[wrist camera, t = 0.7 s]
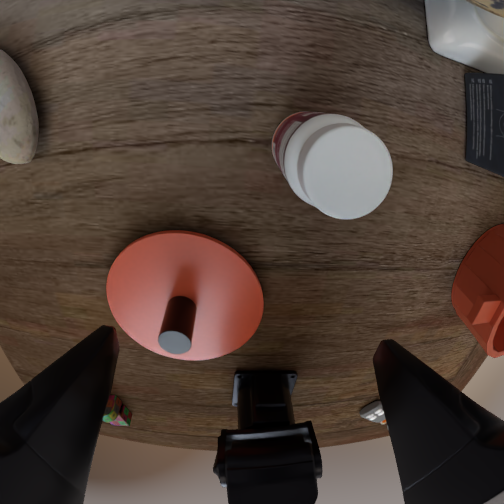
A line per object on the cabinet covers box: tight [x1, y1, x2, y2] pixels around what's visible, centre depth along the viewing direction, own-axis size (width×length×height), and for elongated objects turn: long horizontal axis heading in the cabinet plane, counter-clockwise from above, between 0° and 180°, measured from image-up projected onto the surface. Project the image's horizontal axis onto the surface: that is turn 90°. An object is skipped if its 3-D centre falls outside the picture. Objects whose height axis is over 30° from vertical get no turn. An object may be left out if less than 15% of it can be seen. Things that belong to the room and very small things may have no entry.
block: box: [103, 395, 132, 426], centre depth 31 cm, size 6×4×3 cm
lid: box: [106, 230, 264, 360], centre depth 22 cm, size 13×13×5 cm
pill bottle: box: [272, 111, 393, 219], centre depth 15 cm, size 5×5×8 cm
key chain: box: [359, 401, 388, 427], centre depth 36 cm, size 13×4×2 cm, turn 43°
